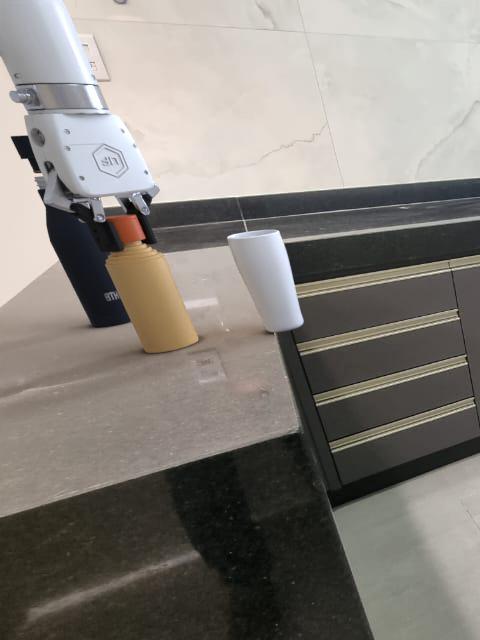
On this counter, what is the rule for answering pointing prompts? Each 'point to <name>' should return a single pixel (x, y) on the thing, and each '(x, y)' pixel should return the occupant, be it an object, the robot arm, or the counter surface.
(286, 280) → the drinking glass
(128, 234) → the cap
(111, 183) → the robot arm
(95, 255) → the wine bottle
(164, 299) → the sauce bottle
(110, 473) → the counter surface
